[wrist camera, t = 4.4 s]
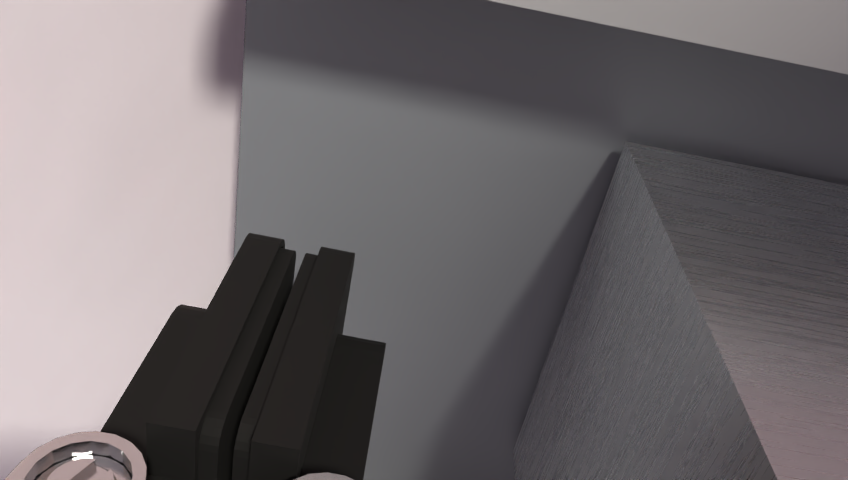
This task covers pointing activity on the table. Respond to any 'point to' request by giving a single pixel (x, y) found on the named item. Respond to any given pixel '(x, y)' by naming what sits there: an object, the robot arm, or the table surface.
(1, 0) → the table surface
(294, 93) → the track
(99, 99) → the table surface
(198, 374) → the robot arm
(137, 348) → the table surface
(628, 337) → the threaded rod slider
